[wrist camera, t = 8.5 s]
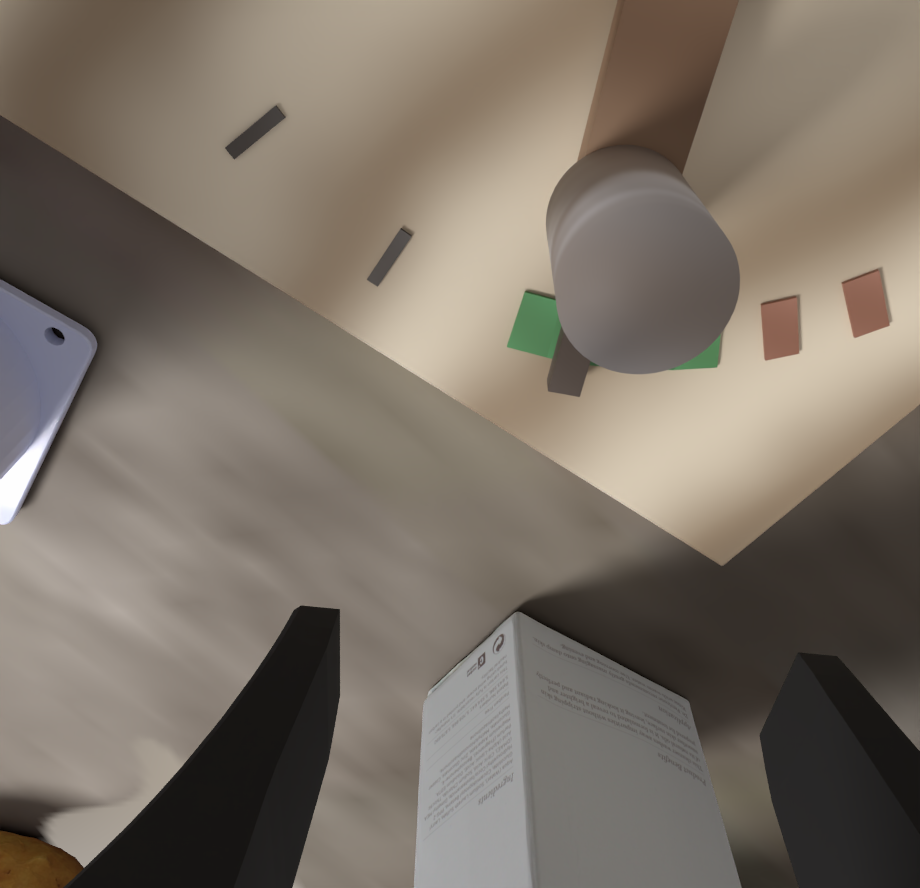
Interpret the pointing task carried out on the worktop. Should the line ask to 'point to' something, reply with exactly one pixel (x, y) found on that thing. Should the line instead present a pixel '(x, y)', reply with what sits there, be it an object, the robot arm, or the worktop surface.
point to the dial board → (528, 210)
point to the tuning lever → (641, 204)
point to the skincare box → (562, 774)
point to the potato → (34, 863)
